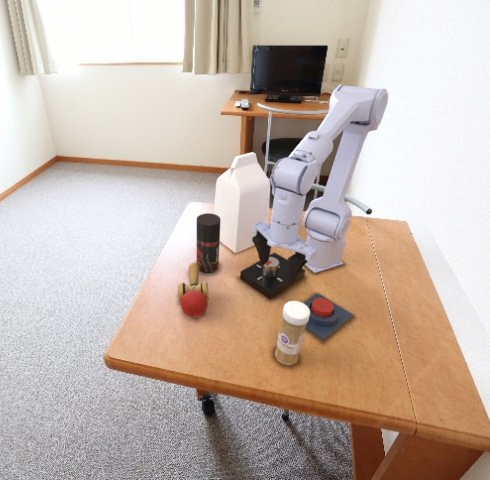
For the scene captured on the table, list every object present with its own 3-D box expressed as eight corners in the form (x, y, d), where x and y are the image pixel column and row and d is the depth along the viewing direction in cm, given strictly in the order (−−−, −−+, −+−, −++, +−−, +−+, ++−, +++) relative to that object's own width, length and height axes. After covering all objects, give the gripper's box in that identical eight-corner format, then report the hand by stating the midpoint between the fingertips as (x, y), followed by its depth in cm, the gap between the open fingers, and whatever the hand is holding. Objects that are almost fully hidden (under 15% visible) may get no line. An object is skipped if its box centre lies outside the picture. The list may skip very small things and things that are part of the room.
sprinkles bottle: (270, 358, 70) (279, 310, 62) (280, 344, 73) (290, 296, 65) (292, 370, 67) (304, 322, 60) (302, 355, 70) (314, 307, 63)
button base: (317, 295, 84) (319, 287, 83) (352, 317, 78) (355, 309, 77) (287, 316, 79) (289, 308, 78) (322, 341, 73) (325, 333, 71)
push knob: (318, 300, 80) (320, 295, 79) (336, 311, 77) (337, 306, 76) (306, 308, 78) (308, 303, 77) (324, 320, 75) (325, 315, 74)
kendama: (176, 276, 94) (173, 319, 78) (180, 256, 91) (178, 296, 75) (205, 280, 94) (208, 324, 78) (209, 260, 91) (213, 301, 75)
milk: (235, 253, 100) (241, 167, 85) (211, 234, 108) (213, 153, 94) (267, 240, 104) (278, 156, 90) (242, 223, 113) (248, 144, 98)
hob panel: (273, 259, 96) (274, 251, 95) (304, 277, 90) (305, 269, 88) (239, 278, 90) (240, 270, 89) (269, 299, 84) (271, 291, 82)
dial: (268, 265, 90) (269, 253, 88) (280, 273, 87) (282, 261, 85) (257, 272, 88) (259, 259, 86) (269, 280, 86) (271, 267, 83)
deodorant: (217, 274, 92) (219, 226, 84) (195, 272, 93) (194, 224, 85) (219, 261, 97) (221, 214, 88) (198, 259, 98) (198, 212, 90)
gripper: (245, 211, 73) (240, 263, 80) (305, 240, 63) (294, 296, 70) (267, 200, 76) (261, 251, 84) (328, 227, 66) (314, 281, 74)
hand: (277, 271), depth 77 cm, fingers open, 7 cm apart
